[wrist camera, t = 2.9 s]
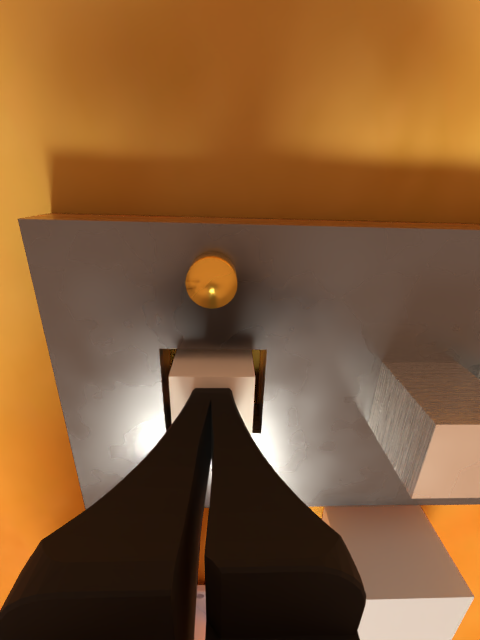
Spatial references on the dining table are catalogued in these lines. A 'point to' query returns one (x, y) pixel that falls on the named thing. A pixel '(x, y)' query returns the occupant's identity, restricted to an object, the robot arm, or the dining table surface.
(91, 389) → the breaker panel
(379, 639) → the cap
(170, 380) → the button
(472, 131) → the dining table surface
